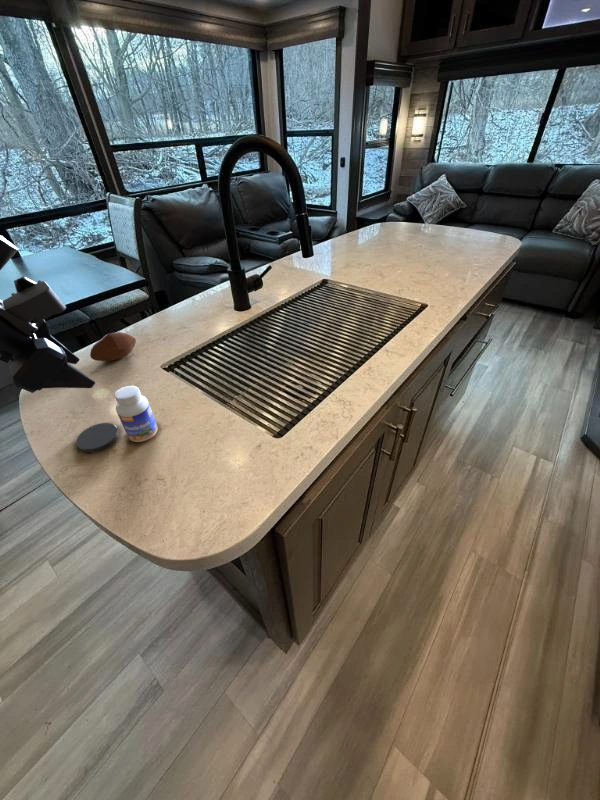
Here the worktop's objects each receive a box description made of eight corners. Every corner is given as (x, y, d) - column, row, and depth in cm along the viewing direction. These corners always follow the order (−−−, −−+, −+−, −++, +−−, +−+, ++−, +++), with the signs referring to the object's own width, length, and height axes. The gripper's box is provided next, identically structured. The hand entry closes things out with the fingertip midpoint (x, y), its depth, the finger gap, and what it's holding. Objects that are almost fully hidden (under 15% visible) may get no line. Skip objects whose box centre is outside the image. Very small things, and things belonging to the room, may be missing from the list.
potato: (89, 362, 84) (78, 339, 80) (131, 344, 91) (123, 323, 87) (100, 370, 81) (90, 347, 77) (143, 351, 88) (135, 329, 84)
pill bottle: (128, 446, 61) (108, 405, 55) (128, 427, 65) (109, 387, 59) (159, 438, 62) (143, 397, 56) (157, 420, 66) (142, 380, 60)
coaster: (98, 456, 59) (97, 453, 58) (69, 446, 61) (67, 443, 60) (127, 430, 64) (125, 427, 64) (98, 422, 66) (97, 419, 65)
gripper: (18, 280, 35) (139, 355, 48) (-2, 248, 47) (100, 316, 59) (-53, 361, 35) (88, 416, 47) (-56, 309, 46) (59, 364, 58)
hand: (85, 372), depth 53 cm, fingers open, 9 cm apart
